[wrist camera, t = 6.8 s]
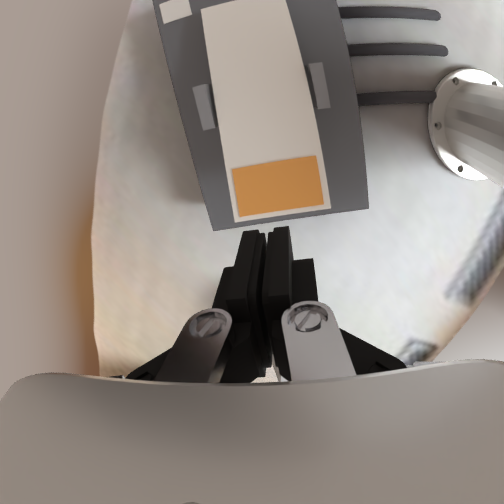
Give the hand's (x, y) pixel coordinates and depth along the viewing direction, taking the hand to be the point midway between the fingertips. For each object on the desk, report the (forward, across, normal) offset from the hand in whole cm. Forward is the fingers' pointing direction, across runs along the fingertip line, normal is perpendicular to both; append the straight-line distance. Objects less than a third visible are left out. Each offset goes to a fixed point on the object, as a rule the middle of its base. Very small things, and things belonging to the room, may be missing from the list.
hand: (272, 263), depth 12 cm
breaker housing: (+21, 0, -6) cm, 22 cm away
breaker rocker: (+11, 0, -6) cm, 13 cm away
